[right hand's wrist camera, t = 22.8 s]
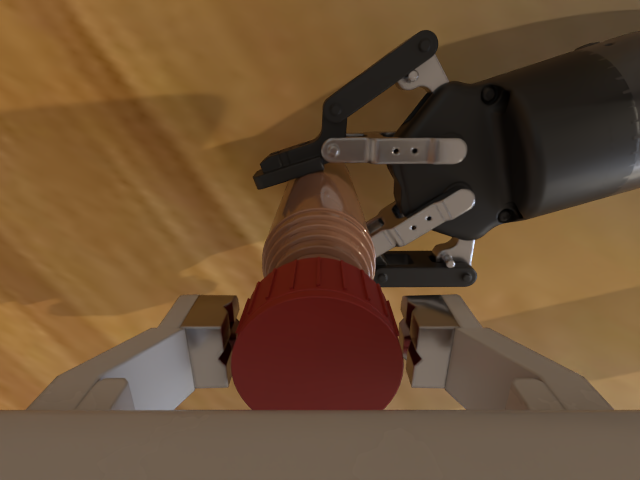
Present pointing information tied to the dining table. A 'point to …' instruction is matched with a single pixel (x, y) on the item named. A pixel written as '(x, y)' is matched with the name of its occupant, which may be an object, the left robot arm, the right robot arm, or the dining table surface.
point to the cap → (317, 340)
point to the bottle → (320, 223)
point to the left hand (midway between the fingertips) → (274, 220)
